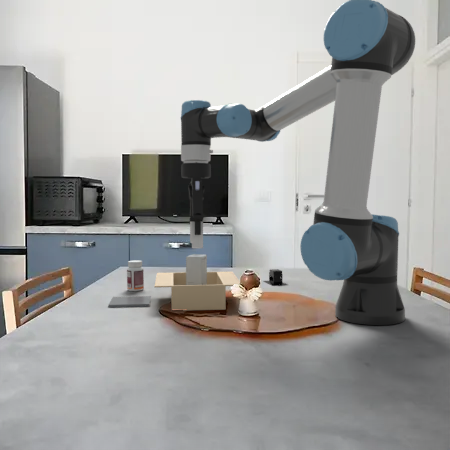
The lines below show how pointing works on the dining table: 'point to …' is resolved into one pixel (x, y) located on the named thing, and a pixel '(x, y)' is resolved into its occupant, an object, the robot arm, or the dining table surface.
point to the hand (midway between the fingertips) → (196, 245)
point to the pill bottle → (135, 276)
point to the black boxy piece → (275, 278)
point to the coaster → (130, 301)
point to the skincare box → (196, 269)
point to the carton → (197, 290)
